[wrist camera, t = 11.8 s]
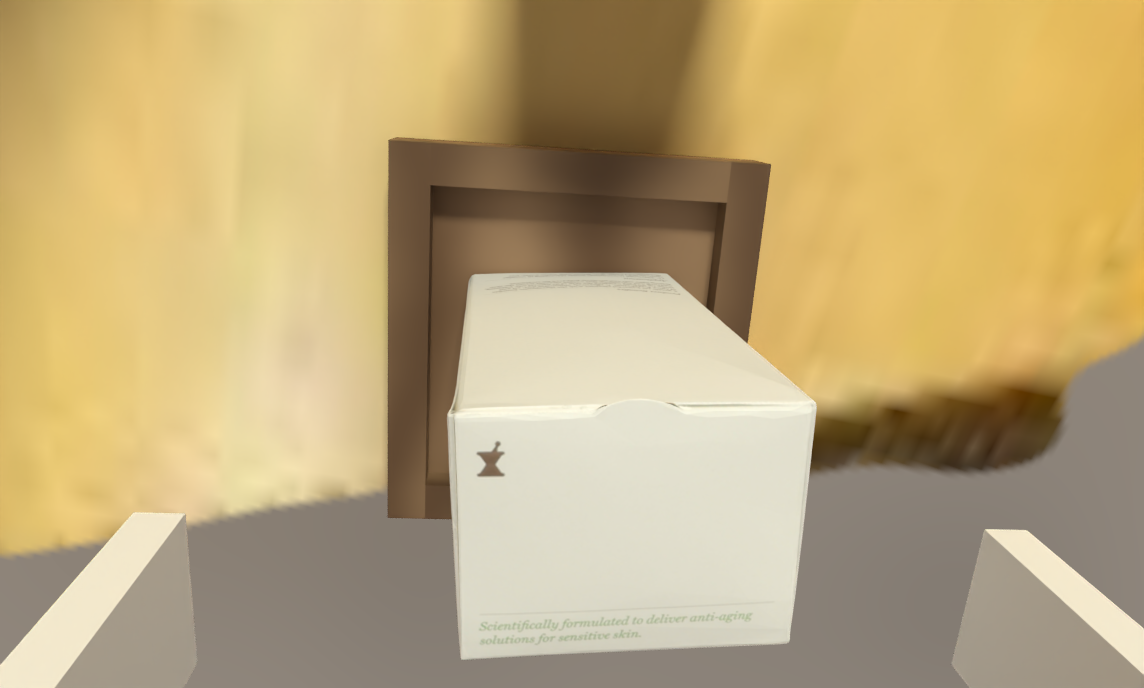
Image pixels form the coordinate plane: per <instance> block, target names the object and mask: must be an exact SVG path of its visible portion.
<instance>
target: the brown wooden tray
mask: <svg viewBox="0 0 1144 688" xmlns="http://www.w3.org/2000/svg"><path fill="white" fill-rule="evenodd" d="M770 169H771V164H767V163H763V162H759V161H755V160H740V159H725V158H709V157H694V156H678V155H663V154H647V153H631V152H616V151H600V150H585V149H569V148H554V147H538V146H523V145H507V144H492V143H476V142H460V141H445V140H429V139H414V138H398V137H397V138H393V139H390V140H389V189H388V518H422V519H452V515H451V498H450V478H449V454H448V427H447V414H448V412H449V410H450V409H451V406H452V403H453V400H454V396H455V390H456V384H457V375H458V367H459V359H460V351H461V342H462V334H463V326H464V317H465V310H466V301H467V290H468V282H469V279H470V278H471V276H472V275H474V274H497V273H665V274H668V275H669V276H670V277H671V278H672V279H674V280H675V281H676V282H677V283H678V284H680V285H681V286H682V287H683V288H684V289H685V290H686V291H688V292H689V293H690V294H691V295H692V296H693V297H694V298H695V299H697V300H698V301H699V302H700V303H701V304H702V305H703V306H705V307H706V308H707V309H708V310H709V311H710V312H712V313H713V314H714V315H715V316H716V317H717V318H718V319H720V320H721V321H722V322H723V323H724V324H725V325H726V326H728V327H729V328H730V329H731V330H732V331H733V332H735V333H736V334H737V335H738V336H739V337H740V338H742V339H743V340H744V341H745V342H746V343H747V342H748V335H749V327H750V320H751V312H752V305H753V297H754V290H755V282H756V275H757V267H758V260H759V252H760V245H761V237H762V229H763V222H764V214H765V207H766V199H767V192H768V184H769V177H770Z"/></svg>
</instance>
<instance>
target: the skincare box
mask: <svg viewBox="0 0 1144 688" xmlns="http://www.w3.org/2000/svg"><path fill="white" fill-rule="evenodd" d="M816 409H817V407H816V403H815V401H813V400H812V399H811V398H810V397H809V396H808V395H806V394H805V393H804V392H803V391H802V390H801V389H799V388H798V387H797V386H796V385H795V384H794V383H792V382H791V381H790V380H789V379H788V378H787V377H786V376H784V375H783V374H782V373H781V372H780V371H779V370H777V369H776V368H775V367H774V366H773V365H772V364H771V363H769V362H768V361H767V360H766V359H765V358H764V357H762V356H761V355H760V354H759V353H758V352H756V351H755V350H754V349H753V348H752V347H751V346H749V345H748V344H747V343H746V342H745V341H744V340H743V339H742V338H740V337H739V336H738V335H737V334H736V333H735V332H733V331H732V330H731V329H730V328H729V327H728V326H726V325H725V324H724V323H723V322H722V321H721V320H720V319H718V318H717V317H716V316H715V315H714V314H713V313H712V312H710V311H709V310H708V309H707V308H706V307H705V306H703V305H702V304H701V303H700V302H699V301H698V300H697V299H695V298H694V297H693V296H692V295H691V294H690V293H689V292H688V291H686V290H685V289H684V288H683V287H682V286H681V285H680V284H678V283H677V282H676V281H675V280H674V279H672V278H671V277H670V276H669V275H668V274H665V273H497V274H474V275H472V276H471V278H470V279H469V282H468V290H467V301H466V310H465V317H464V326H463V334H462V342H461V351H460V359H459V367H458V375H457V384H456V390H455V396H454V400H453V403H452V406H451V409H450V410H449V412H448V414H447V427H448V454H449V478H450V498H451V515H452V532H453V550H454V570H455V587H456V605H457V624H458V636H459V648H460V657H461V659H462V660H470V659H471V660H472V659H488V658H503V657H521V656H540V655H559V654H576V653H577V654H578V653H599V652H620V651H642V650H661V649H682V648H705V647H727V646H748V645H773V644H785V643H788V642H789V640H790V629H791V622H792V614H793V608H794V600H795V592H796V584H797V576H798V567H799V559H800V550H801V542H802V534H803V525H804V517H805V508H806V498H807V489H808V481H809V471H810V462H811V453H812V444H813V435H814V426H815V417H816Z"/></svg>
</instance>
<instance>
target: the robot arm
mask: <svg viewBox="0 0 1144 688" xmlns="http://www.w3.org/2000/svg"><path fill="white" fill-rule="evenodd" d="M190 579H191V578H190V566H189V553H188V541H187V529H186V516H185V513H135V512H134V513H133V514H132V515H131V516H130V517H129V518H128V519H127V521H126V522H125V523H124V524H123V525H122V526H121V527H120V529H119V530H118V531H117V532H116V533H115V534H114V536H113V537H112V538H111V539H110V540H109V541H108V542H107V544H106V545H105V546H104V547H103V548H102V549H101V550H100V552H99V553H98V554H97V555H96V556H95V557H94V558H93V560H92V561H91V562H90V563H89V564H88V565H87V566H86V568H85V569H84V570H83V571H82V572H81V573H80V574H79V576H78V577H77V578H76V579H75V580H74V581H73V582H72V584H71V585H70V586H69V587H68V588H67V589H66V590H65V592H64V593H63V594H62V595H61V596H60V597H59V598H58V600H57V601H56V602H55V603H54V604H53V605H52V607H51V608H50V609H49V610H48V611H47V612H46V613H45V615H44V616H43V617H42V618H41V619H40V620H39V621H38V623H37V624H36V625H35V626H34V627H33V628H32V630H31V631H30V632H29V633H28V634H27V635H26V636H25V637H24V639H23V640H22V641H21V642H20V643H19V644H18V645H17V647H16V648H15V649H14V650H13V651H12V652H11V653H10V655H9V656H8V657H7V658H6V659H5V660H4V661H3V663H2V664H1V665H0V688H184V686H185V685H186V682H187V681H188V679H189V677H190V675H191V673H192V671H193V669H194V668H195V666H196V664H197V653H196V641H195V628H194V616H193V604H192V591H191V580H190ZM952 666H953V667H954V668H955V670H956V671H957V672H958V674H959V675H960V676H961V677H962V678H963V680H964V681H965V683H966V684H967V685H968V686H969V688H1144V629H1143V628H1142V627H1141V626H1140V625H1139V624H1137V623H1136V622H1135V621H1134V620H1133V619H1131V618H1130V617H1129V616H1128V615H1127V614H1126V613H1124V612H1123V611H1122V610H1121V609H1120V608H1118V607H1117V606H1116V605H1115V604H1114V603H1112V602H1111V601H1110V600H1109V599H1108V598H1107V597H1105V596H1104V595H1103V594H1102V593H1101V592H1099V591H1098V590H1097V589H1096V588H1095V587H1094V586H1092V585H1091V584H1090V583H1089V582H1087V581H1086V580H1085V579H1084V578H1083V577H1082V576H1080V575H1079V574H1078V573H1077V572H1076V571H1074V570H1073V569H1072V568H1071V567H1070V566H1069V565H1067V564H1066V563H1065V562H1064V561H1063V560H1061V559H1060V558H1059V557H1058V556H1057V555H1055V554H1054V553H1053V552H1052V551H1051V550H1049V549H1048V548H1047V547H1046V546H1045V545H1044V544H1042V543H1041V542H1040V541H1039V540H1038V539H1036V538H1035V537H1034V536H1033V535H1032V534H1031V533H1029V532H1028V531H1027V530H992V529H985V530H984V533H983V537H982V541H981V546H980V550H979V554H978V558H977V562H976V566H975V570H974V574H973V578H972V583H971V586H970V591H969V595H968V599H967V603H966V607H965V611H964V615H963V619H962V623H961V627H960V631H959V635H958V640H957V644H956V648H955V652H954V656H953V660H952Z"/></svg>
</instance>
